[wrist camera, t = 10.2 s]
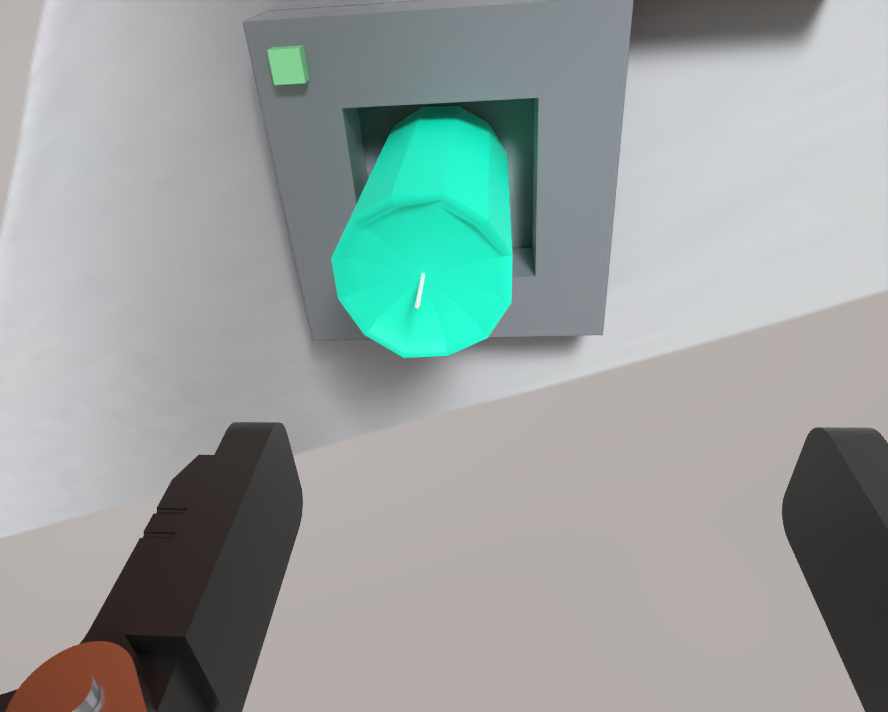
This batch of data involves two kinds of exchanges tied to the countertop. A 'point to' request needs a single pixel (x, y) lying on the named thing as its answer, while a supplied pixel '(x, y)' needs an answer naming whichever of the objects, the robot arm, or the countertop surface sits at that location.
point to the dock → (444, 81)
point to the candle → (430, 237)
